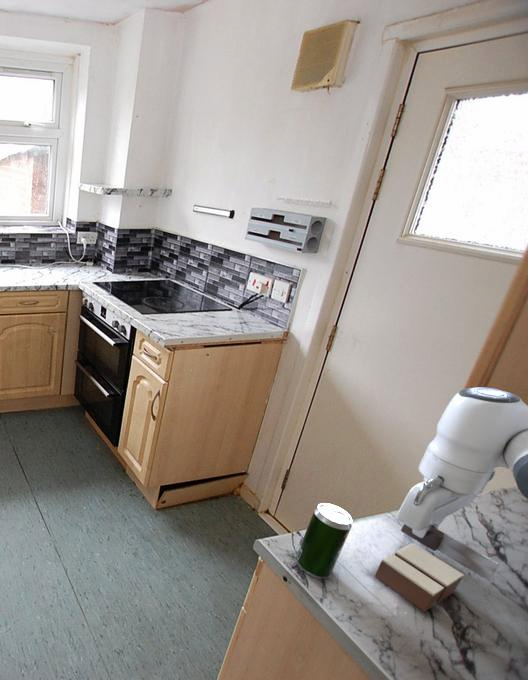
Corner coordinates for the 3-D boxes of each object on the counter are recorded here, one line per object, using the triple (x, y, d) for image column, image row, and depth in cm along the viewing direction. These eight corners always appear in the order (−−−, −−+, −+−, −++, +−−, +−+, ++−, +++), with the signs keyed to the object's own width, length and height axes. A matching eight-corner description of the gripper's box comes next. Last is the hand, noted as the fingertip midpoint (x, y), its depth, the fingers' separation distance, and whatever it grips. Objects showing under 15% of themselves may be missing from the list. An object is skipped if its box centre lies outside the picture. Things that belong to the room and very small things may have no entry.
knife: (492, 578, 80) (501, 562, 78) (486, 582, 79) (496, 566, 77) (406, 527, 90) (413, 512, 89) (400, 530, 89) (407, 515, 88)
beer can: (297, 573, 79) (320, 518, 75) (292, 551, 84) (313, 498, 80) (333, 585, 77) (358, 529, 73) (326, 561, 82) (348, 508, 78)
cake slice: (434, 605, 75) (444, 587, 74) (424, 612, 74) (434, 594, 72) (384, 570, 81) (392, 553, 80) (374, 576, 80) (382, 558, 79)
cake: (453, 592, 78) (463, 574, 77) (437, 603, 76) (447, 585, 74) (404, 559, 84) (412, 542, 83) (387, 568, 82) (396, 551, 81)
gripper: (446, 496, 75) (414, 560, 80) (500, 469, 84) (469, 529, 89) (402, 473, 80) (375, 535, 85) (457, 451, 89) (430, 508, 94)
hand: (423, 532), depth 87 cm, fingers closed on knife, 2 cm apart
